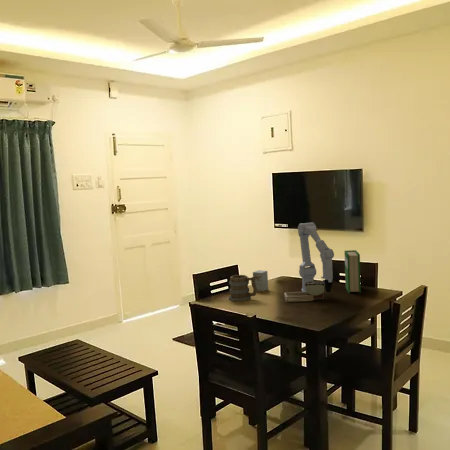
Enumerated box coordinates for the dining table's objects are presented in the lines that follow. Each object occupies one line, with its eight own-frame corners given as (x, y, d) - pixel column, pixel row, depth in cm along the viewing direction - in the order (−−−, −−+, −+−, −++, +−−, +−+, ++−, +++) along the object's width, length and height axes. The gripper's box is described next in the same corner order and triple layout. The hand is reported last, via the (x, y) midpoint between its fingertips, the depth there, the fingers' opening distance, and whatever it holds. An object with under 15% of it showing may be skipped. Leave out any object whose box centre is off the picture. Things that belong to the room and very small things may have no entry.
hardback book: (360, 292, 298) (359, 254, 296) (348, 293, 299) (347, 254, 297) (357, 286, 315) (356, 250, 313) (345, 286, 316) (344, 250, 314)
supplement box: (259, 288, 324) (258, 270, 323) (268, 289, 320) (267, 270, 319) (253, 290, 318) (252, 272, 317) (262, 291, 314) (261, 272, 313)
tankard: (226, 300, 296) (225, 276, 295) (234, 295, 307) (233, 272, 306) (256, 302, 287) (255, 277, 286) (264, 297, 299) (263, 273, 297)
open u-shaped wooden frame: (284, 297, 296) (284, 292, 296) (310, 296, 296) (310, 291, 295) (286, 301, 285) (286, 296, 285) (313, 300, 285) (313, 295, 284)
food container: (326, 296, 292) (325, 280, 291) (326, 299, 286) (325, 282, 285) (305, 297, 295) (304, 280, 294) (305, 299, 289) (304, 282, 288)
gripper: (318, 267, 296) (319, 289, 297) (323, 272, 281) (324, 294, 282) (330, 267, 296) (330, 289, 297) (335, 271, 281) (336, 294, 282)
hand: (328, 291), depth 289 cm, fingers closed
